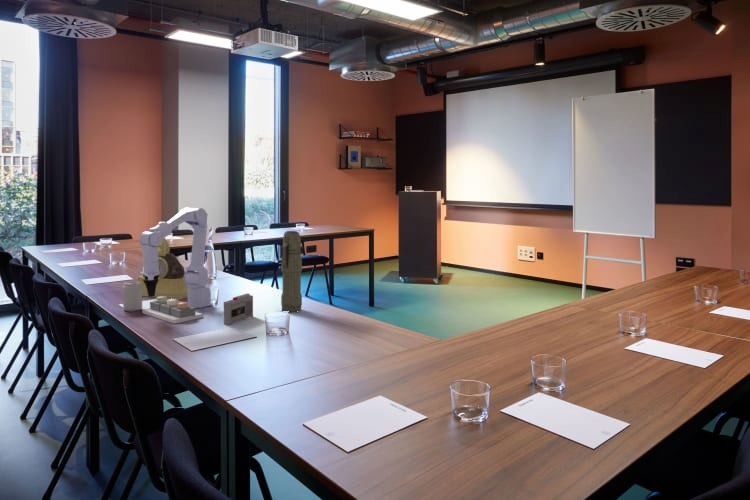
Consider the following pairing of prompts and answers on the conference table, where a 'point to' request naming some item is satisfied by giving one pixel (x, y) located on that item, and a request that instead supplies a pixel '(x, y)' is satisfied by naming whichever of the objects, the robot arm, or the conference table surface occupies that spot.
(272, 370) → the conference table surface
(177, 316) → the panel
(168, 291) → the decorative clock
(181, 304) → the terracotta button
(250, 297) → the cassette player
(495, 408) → the conference table surface
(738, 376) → the conference table surface
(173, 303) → the cream button
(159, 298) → the sage button
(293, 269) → the thermos
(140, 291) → the can
